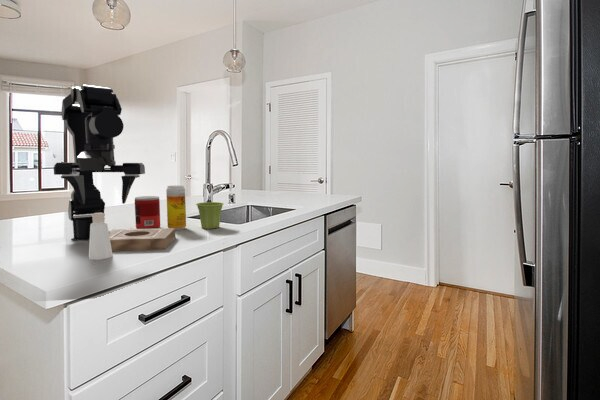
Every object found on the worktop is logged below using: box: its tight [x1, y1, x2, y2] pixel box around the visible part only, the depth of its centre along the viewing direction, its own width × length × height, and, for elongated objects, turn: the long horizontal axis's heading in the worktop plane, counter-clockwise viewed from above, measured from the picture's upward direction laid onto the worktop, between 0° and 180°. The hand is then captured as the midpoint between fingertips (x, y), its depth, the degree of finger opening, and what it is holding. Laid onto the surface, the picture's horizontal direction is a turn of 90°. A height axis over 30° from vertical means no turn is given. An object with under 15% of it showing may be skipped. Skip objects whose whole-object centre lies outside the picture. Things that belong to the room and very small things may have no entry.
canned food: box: [134, 195, 161, 229], centre depth 121 cm, size 8×8×11 cm
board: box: [108, 227, 176, 252], centre depth 100 cm, size 18×14×3 cm
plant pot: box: [195, 201, 224, 230], centre depth 124 cm, size 9×9×9 cm
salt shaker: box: [88, 212, 114, 261], centre depth 86 cm, size 5×5×11 cm
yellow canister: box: [165, 185, 187, 231], centre depth 121 cm, size 6×6×15 cm
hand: (103, 203), depth 86 cm, fingers open, 9 cm apart
